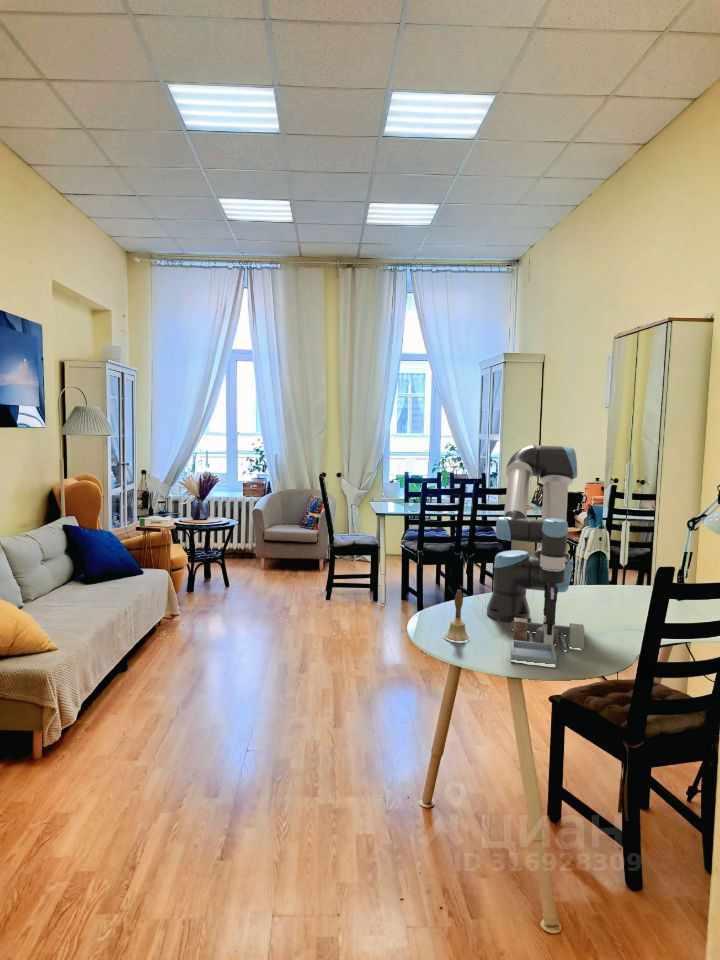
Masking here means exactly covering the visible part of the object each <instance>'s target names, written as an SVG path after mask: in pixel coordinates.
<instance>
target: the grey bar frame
mask: <svg viewBox="0 0 720 960" xmlns="http://www.w3.org/2000/svg"><path fill="white" fill-rule="evenodd" d="M510 624H511V625H510V630H511V629H514V621H512V622H510ZM542 626H543V623H540V622H539V623H538V622H530V621H529V622H528V621H527V631H529V633H528V640H530V642H534V641H533V633H532V632H536V629H538V628H540V627H542ZM554 628H555V629H558V635H560V636H559V638H560V637H561V639H560V642H561V641H562V643H561V645H562V644H563V647H562V649H563V648H564V650H567V651H568V647H567V646H568V645H567V643H566V639H565V638H566V637H565V636H564V635H566V636H569V626H567V625H559V624H558V625H557V624H555V625H554Z"/></svg>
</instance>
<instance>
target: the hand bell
mask: <svg viewBox="0 0 720 960" xmlns="http://www.w3.org/2000/svg"><path fill="white" fill-rule="evenodd" d="M463 603H464V598H463V594H462V590H461V589H457V590H456V594H455V596H454V607H455V617H454V620H451V621H450V624H449V625H450V626H449V629H448V631H447V633H445V634H444V635H445V637H446V638H448V639H450V640H454V641H465V640H468V639H469V638H470V636H469V635H468V634H467V630H466V623H465V622H464V621H462V618H461V616H462V613H461V611H462V607H463Z"/></svg>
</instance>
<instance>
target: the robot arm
mask: <svg viewBox="0 0 720 960" xmlns="http://www.w3.org/2000/svg"><path fill="white" fill-rule="evenodd" d="M576 454H577V453H576V450H575V449H574V447H571V446H563V445H562V446H561V445H560V446H559V445H558V446H557V445H536V444H531V445H527V446H524V447H522V448H520V449H519V450H517V451H516V452H515V453H514V454H513V455H512V456H511V457H510V459H509V460H508V463H507V464H506V470H505V473H506V477H507V485H506V494H505V503H504V510H503V516H499V517H497V518H496V522H495V523H496V524H495V537H496V538H497V539H498V540H503V541H508V542H511V541H512V542H525V543H535V544H536V543H537V544H539V548H538V549H536V550H535V551H534V556H530V554H529V552H528V551H526V550H519V549H518V550H517V549H516V550H515V549H514V550H505V551H501V552H498V553H496V555H495V557H494V565H493V569H494V570H493V582H492V583H493V585H492V594H491V595H490V598H489V600H488V604H487V607H486V615H487V614H488V615H489V616H488V615H487V616H488V617H490V616H491V617H490V618H492V617H493V618H492V619H494V618H495V619H494V620H497V619H498V621H501V620H502V622H508V621H509V623H512V621H514V618H524V619H527V621H529V619H530V616H531V611H530V606H529V602H528V599H527V590H531V591H533V590H534V591H542V592H544V593H543V595H544V596H543V598H544V602H543V615H544V616H543V621H542V624H543V626H545V630H544V644H553V635H554V625H556V610H557V601H558V593H565V592H567V591H568V590H569V586H570V582H571V577H572V572H573V566H574V561H573V560H572V559H570V553H569V552H568V551H567V546H568V542H567V541H568V534H569V525H568V521H567V516H568V514H567V513H568V512H567V511H568V492H569V487H570V486H571V485H572V484H573V480H575V479H577V478H578V460H577V455H576ZM533 477H538V478H539V482H540V484H541V485H543V490H542V491H543V492H542V507H541V508H542V509H541V519H532V518H530V519H529V518H527V516H528V505H529V503H528V502H529V491H530V481H531V479H532V478H533Z"/></svg>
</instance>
